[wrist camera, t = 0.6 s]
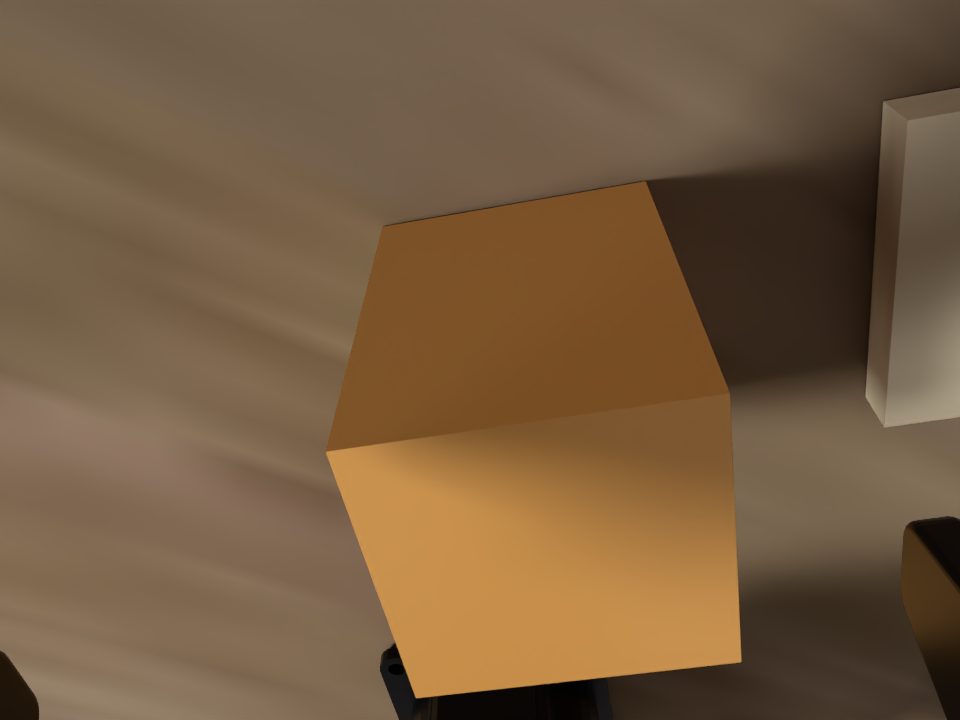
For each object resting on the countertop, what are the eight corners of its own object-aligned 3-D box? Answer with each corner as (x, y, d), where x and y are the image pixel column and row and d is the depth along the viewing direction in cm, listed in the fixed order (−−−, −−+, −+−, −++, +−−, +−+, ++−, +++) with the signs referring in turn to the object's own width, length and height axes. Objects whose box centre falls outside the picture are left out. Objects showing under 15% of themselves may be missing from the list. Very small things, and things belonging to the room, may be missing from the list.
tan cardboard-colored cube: (665, 398, 21) (741, 661, 15) (438, 431, 22) (415, 698, 15) (645, 181, 18) (729, 393, 12) (382, 227, 19) (325, 451, 12)
